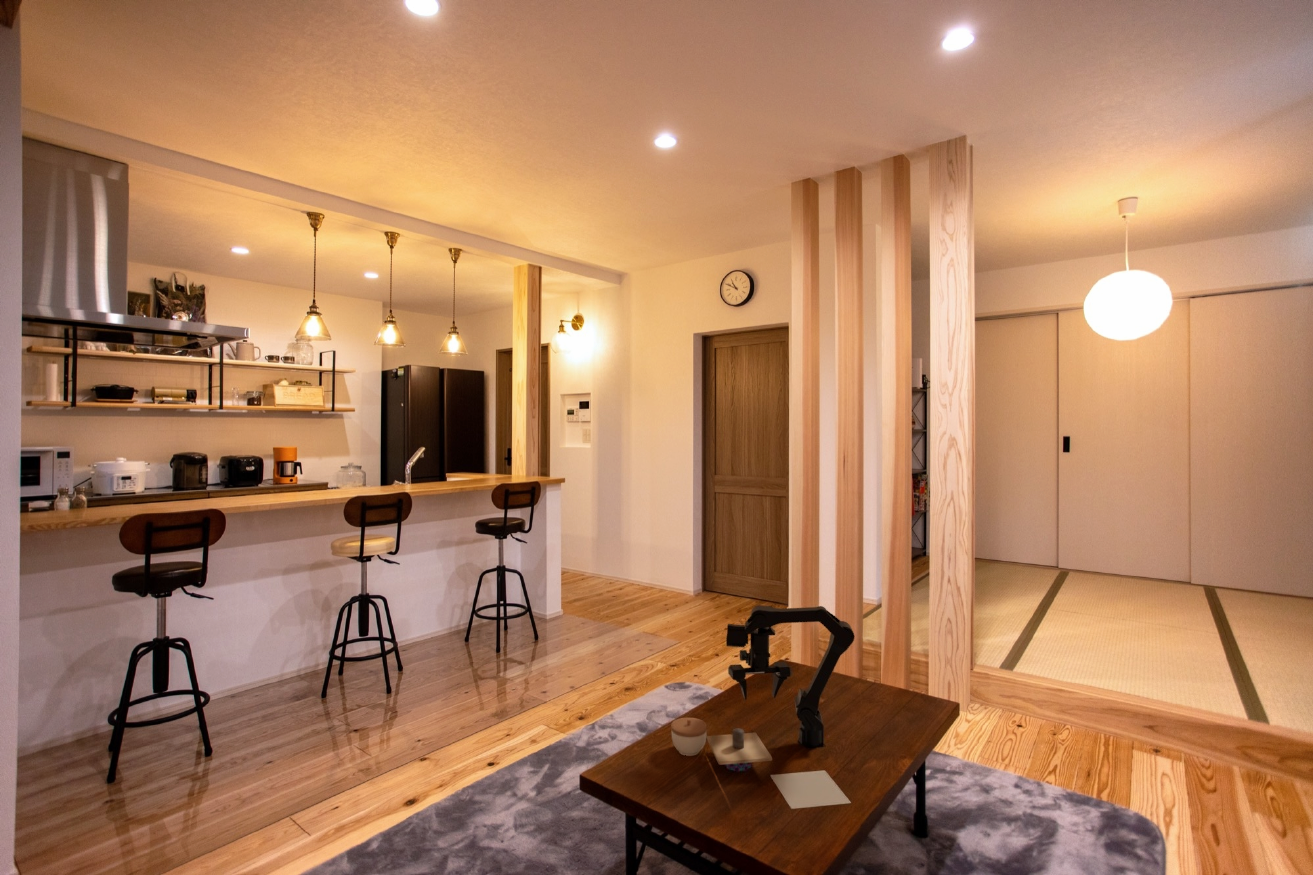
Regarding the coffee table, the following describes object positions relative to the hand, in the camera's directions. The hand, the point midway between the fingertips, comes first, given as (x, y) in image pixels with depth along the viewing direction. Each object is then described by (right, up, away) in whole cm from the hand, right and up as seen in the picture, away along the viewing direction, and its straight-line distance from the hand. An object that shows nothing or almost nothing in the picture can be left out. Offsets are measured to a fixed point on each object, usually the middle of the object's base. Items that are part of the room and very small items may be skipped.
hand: (759, 698), depth 197 cm
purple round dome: (-9, -14, -16) cm, 22 cm away
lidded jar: (-22, -13, -7) cm, 27 cm away
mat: (+9, -13, -28) cm, 32 cm away
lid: (-9, -8, -15) cm, 20 cm away
